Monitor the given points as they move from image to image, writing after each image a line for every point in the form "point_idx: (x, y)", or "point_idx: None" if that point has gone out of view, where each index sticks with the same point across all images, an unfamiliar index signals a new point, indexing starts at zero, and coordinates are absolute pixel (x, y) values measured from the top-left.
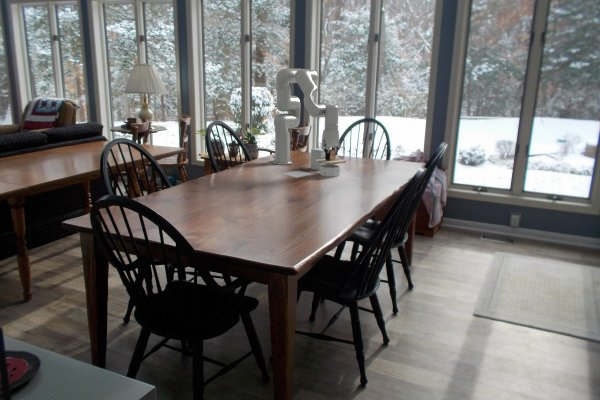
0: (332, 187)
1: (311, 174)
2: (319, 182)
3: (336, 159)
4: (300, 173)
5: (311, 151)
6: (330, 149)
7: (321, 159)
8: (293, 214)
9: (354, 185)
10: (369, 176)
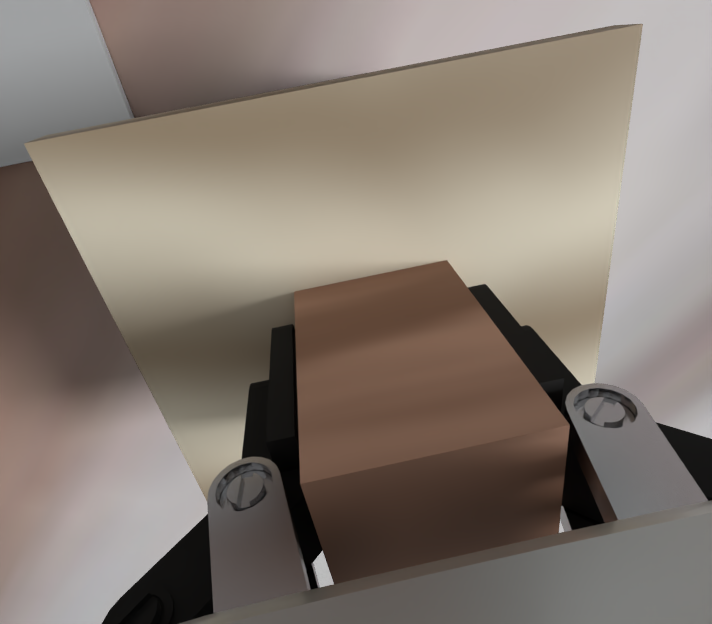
0: (124, 587)
1: (81, 107)
2: (66, 455)
3: (539, 317)
4: None
5: None
6: (506, 473)
7: (241, 188)
8: None
9: (319, 577)
10: (648, 409)
